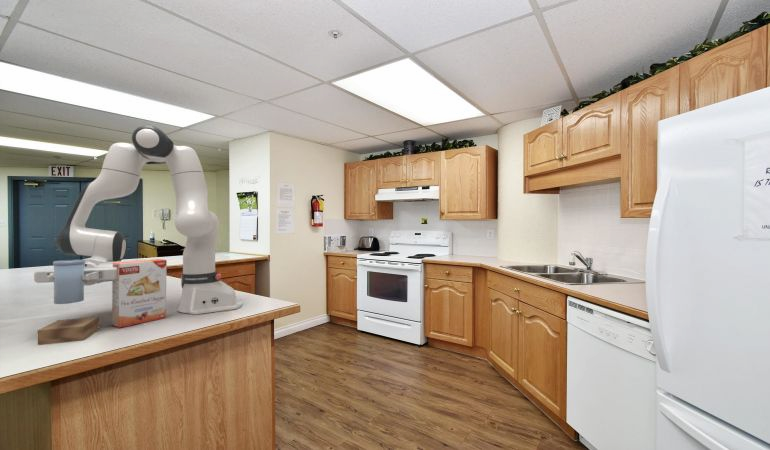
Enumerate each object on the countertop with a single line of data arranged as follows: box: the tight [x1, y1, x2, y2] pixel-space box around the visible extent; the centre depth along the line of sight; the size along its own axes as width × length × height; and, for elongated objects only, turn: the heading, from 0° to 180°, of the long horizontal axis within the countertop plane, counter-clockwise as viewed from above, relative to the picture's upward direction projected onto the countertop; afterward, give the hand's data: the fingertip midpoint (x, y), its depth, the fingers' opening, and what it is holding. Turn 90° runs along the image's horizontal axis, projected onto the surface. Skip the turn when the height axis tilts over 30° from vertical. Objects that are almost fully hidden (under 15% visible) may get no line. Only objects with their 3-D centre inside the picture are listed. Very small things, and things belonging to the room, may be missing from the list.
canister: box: [52, 259, 85, 305], centre depth 97 cm, size 7×7×12 cm
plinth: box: [37, 316, 100, 345], centre depth 97 cm, size 10×10×4 cm
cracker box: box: [111, 258, 167, 329], centre depth 111 cm, size 14×6×21 cm, turn 148°
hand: (67, 278), depth 96 cm, fingers closed on canister, 6 cm apart
